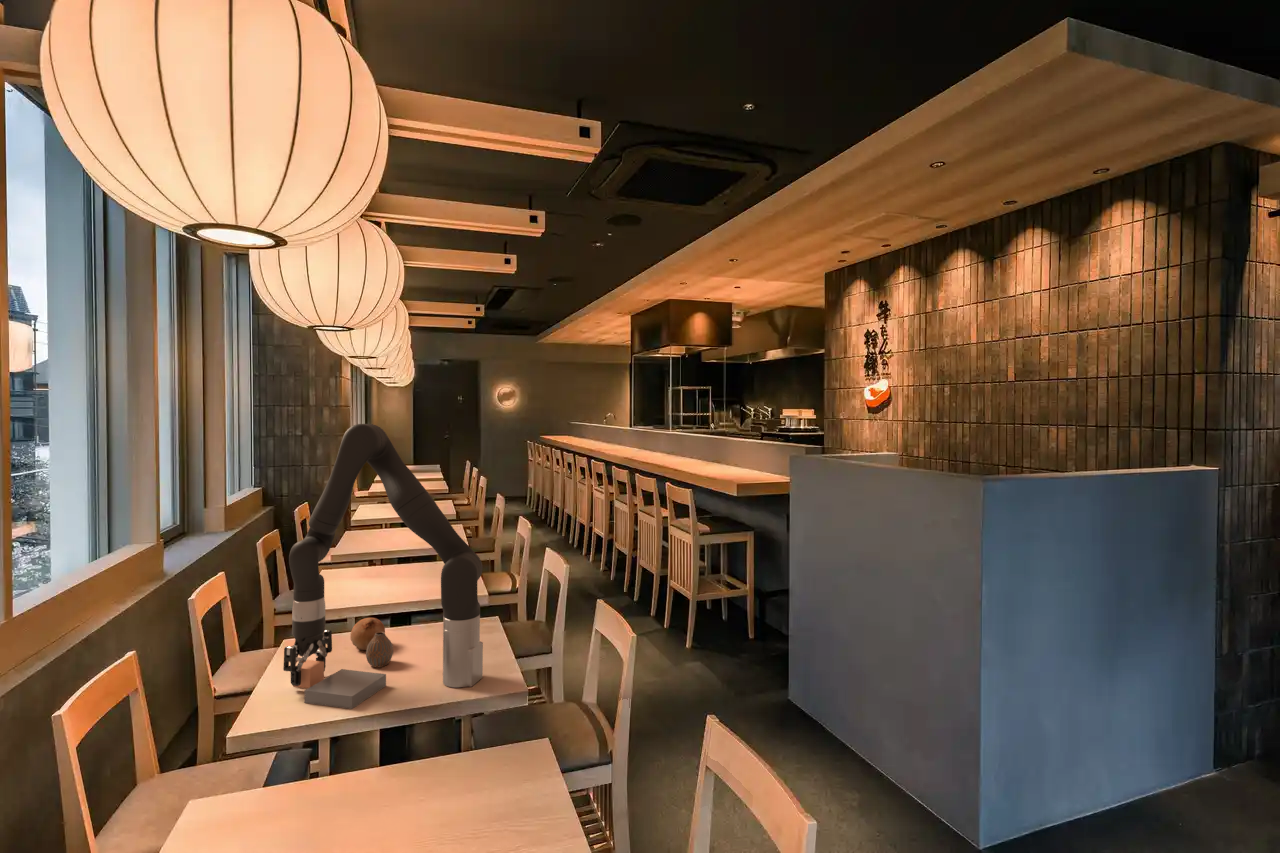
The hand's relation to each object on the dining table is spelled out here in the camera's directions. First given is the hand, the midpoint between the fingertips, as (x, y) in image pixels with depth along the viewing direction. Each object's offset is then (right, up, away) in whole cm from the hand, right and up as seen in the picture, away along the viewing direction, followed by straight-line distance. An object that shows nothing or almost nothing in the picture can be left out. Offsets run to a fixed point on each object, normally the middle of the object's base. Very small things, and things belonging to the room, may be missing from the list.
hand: (308, 678), depth 159 cm
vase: (+13, -1, +12) cm, 18 cm away
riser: (+13, -1, -6) cm, 14 cm away
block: (0, -1, 0) cm, 1 cm away
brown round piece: (+4, -1, +25) cm, 25 cm away
